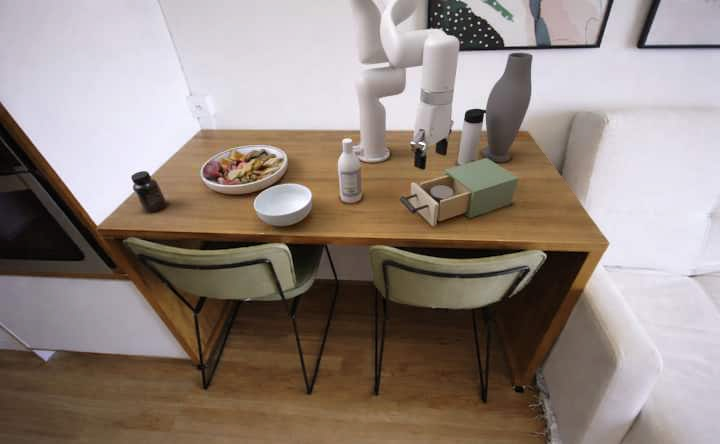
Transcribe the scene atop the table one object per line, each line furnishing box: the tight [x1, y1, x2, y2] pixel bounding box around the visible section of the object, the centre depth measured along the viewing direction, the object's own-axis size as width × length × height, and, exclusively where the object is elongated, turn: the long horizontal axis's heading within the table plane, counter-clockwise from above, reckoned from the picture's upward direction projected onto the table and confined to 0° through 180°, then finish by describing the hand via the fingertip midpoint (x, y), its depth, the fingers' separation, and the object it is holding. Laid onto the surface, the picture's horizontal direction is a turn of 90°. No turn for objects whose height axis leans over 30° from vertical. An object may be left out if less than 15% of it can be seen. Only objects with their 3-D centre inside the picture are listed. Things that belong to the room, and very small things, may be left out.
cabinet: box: [443, 157, 519, 219], centre depth 104 cm, size 16×14×9 cm
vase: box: [481, 52, 534, 163], centre depth 118 cm, size 13×13×35 cm
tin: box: [430, 185, 454, 212], centre depth 101 cm, size 7×7×5 cm
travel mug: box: [457, 108, 486, 166], centre depth 118 cm, size 6×7×20 cm
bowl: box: [200, 144, 289, 195], centre depth 123 cm, size 30×30×8 cm
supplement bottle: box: [130, 170, 168, 213], centre depth 108 cm, size 7×7×12 cm
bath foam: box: [337, 137, 363, 204], centre depth 105 cm, size 7×7×20 cm
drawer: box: [399, 175, 472, 227], centre depth 100 cm, size 20×13×7 cm, turn 114°
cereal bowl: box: [253, 183, 314, 227], centre depth 102 cm, size 17×17×7 cm
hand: (430, 160), depth 91 cm, fingers open, 9 cm apart
